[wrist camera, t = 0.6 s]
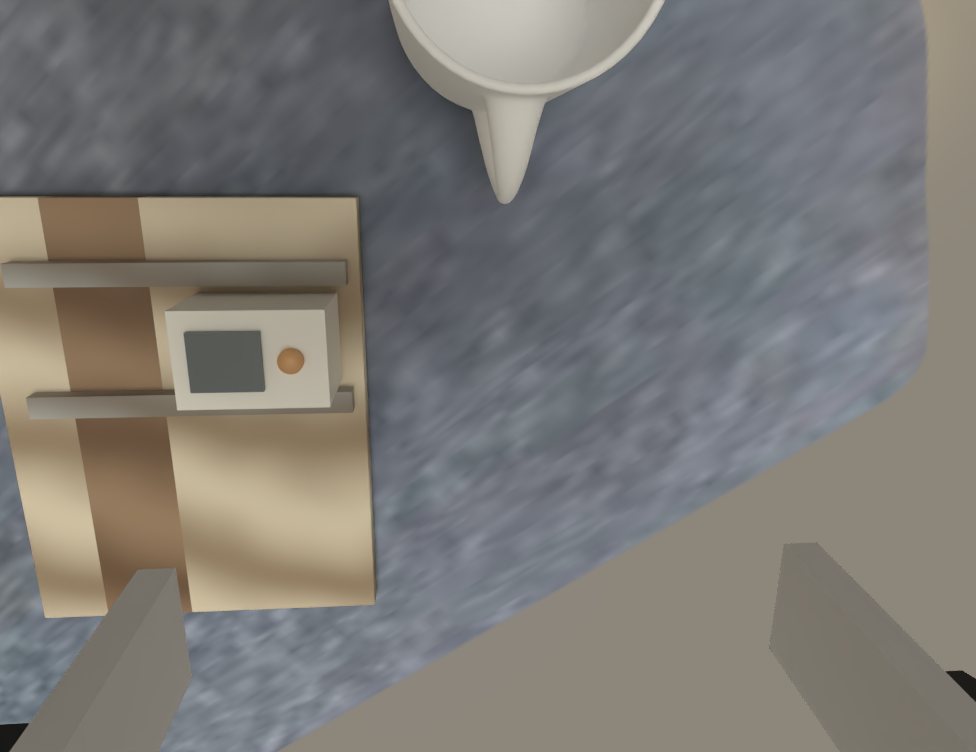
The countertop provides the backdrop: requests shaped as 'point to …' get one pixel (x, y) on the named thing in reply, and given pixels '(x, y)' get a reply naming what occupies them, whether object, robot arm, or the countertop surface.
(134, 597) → the robot arm
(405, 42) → the mug
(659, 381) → the countertop surface
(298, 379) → the block
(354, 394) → the subfloor panel
